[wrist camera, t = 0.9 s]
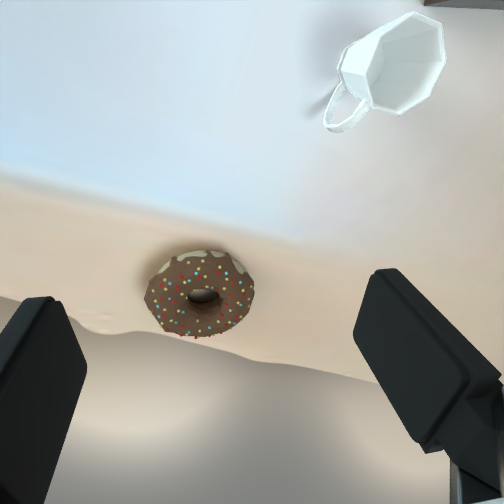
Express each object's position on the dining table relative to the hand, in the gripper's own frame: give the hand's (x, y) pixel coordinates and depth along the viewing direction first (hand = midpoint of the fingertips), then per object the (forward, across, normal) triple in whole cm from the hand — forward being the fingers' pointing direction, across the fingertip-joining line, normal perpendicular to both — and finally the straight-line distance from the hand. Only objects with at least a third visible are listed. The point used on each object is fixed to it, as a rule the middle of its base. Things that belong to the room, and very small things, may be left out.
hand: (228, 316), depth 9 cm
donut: (+26, +1, +20) cm, 33 cm away
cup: (+26, -15, -6) cm, 31 cm away
